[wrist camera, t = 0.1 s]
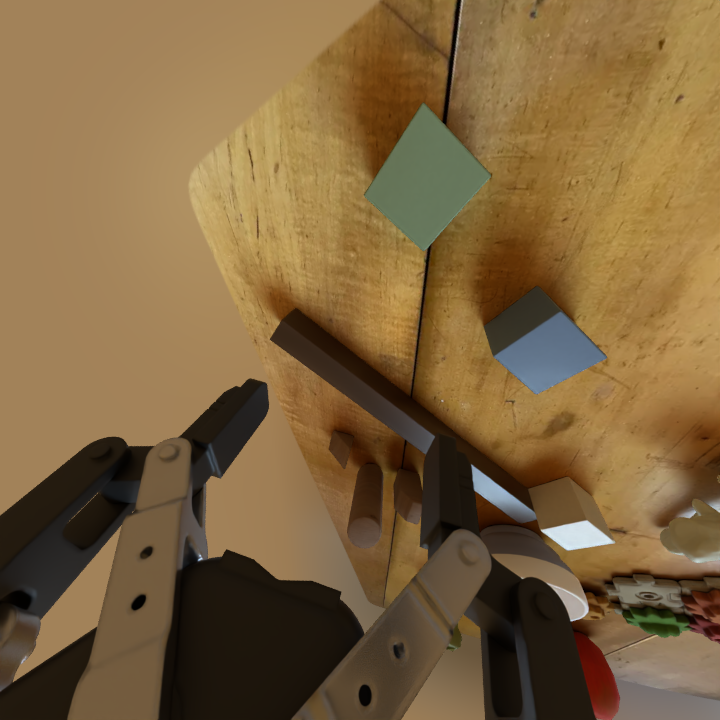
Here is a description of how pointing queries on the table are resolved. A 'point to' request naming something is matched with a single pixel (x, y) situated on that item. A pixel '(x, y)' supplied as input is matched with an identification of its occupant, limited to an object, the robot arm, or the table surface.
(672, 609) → the gear puzzle
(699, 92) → the table surface
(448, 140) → the green block
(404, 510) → the wooden block set
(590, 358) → the blue block
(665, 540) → the bone
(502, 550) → the bowl
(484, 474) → the straightedge
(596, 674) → the apple
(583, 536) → the cream block
